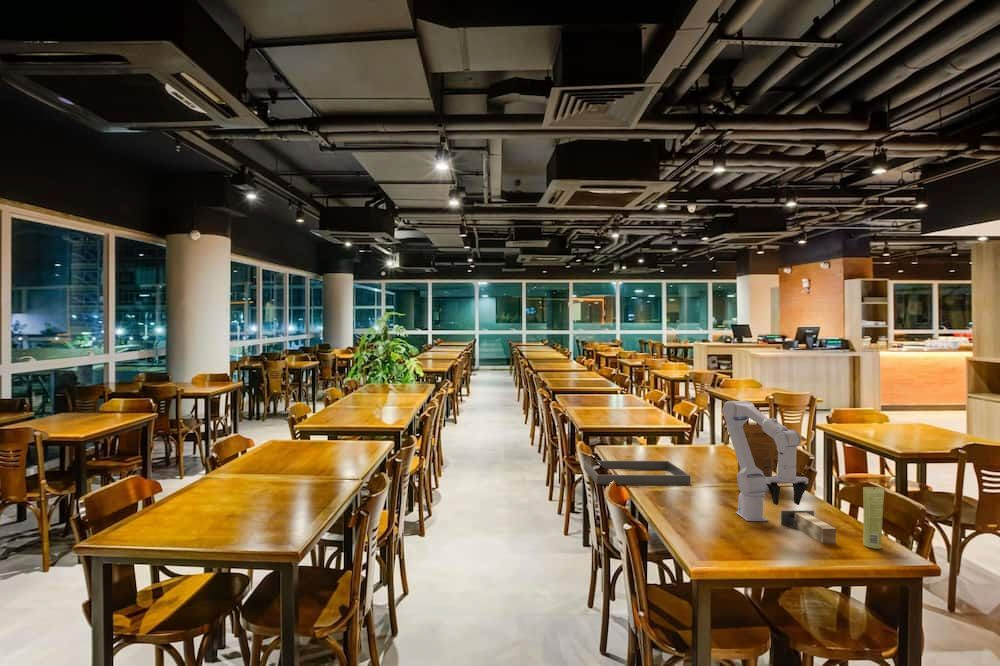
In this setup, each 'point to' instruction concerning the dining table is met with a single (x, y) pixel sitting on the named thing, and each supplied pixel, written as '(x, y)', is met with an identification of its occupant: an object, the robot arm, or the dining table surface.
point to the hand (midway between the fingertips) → (786, 504)
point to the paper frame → (677, 478)
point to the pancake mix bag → (760, 448)
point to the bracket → (791, 517)
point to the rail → (815, 528)
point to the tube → (873, 516)
